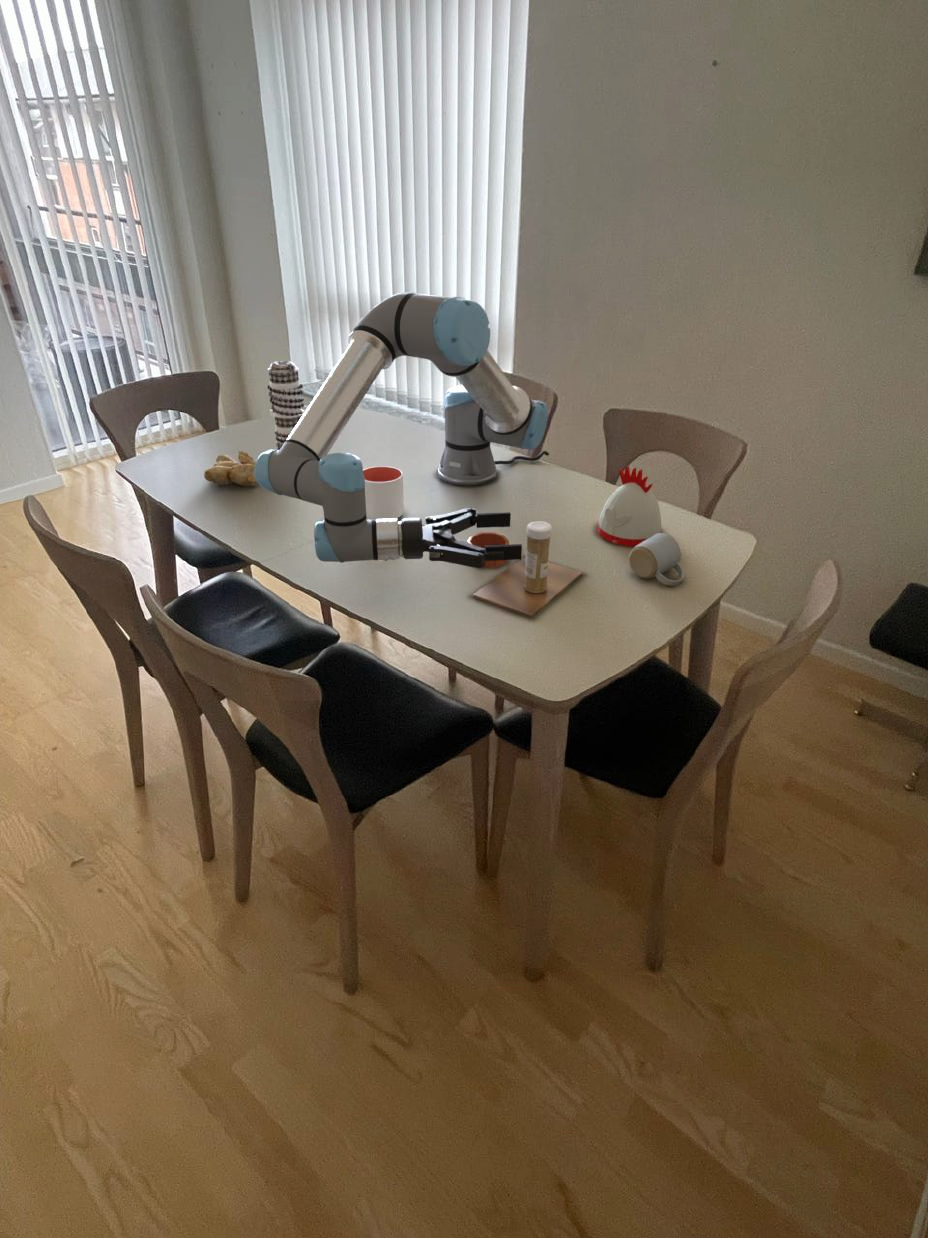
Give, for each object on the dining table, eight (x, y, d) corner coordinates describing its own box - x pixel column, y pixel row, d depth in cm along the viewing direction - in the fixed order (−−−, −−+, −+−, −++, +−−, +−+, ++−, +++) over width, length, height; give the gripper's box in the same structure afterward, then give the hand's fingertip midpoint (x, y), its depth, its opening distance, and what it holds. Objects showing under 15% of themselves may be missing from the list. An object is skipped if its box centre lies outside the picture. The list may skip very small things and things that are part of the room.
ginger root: (246, 493, 180) (235, 461, 177) (195, 499, 186) (184, 468, 183) (280, 473, 193) (271, 443, 189) (232, 479, 199) (221, 450, 195)
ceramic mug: (623, 572, 151) (628, 538, 147) (648, 559, 155) (654, 526, 151) (666, 593, 144) (673, 558, 140) (691, 579, 149) (698, 545, 145)
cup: (397, 525, 169) (395, 484, 163) (355, 521, 170) (352, 480, 165) (409, 507, 177) (407, 468, 172) (369, 504, 179) (366, 464, 173)
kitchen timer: (621, 514, 175) (629, 452, 167) (672, 532, 167) (683, 469, 159) (585, 531, 167) (591, 468, 159) (636, 552, 158) (646, 486, 150)
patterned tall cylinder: (306, 460, 203) (296, 367, 190) (273, 460, 203) (260, 366, 190) (313, 449, 211) (303, 358, 197) (280, 448, 211) (269, 358, 197)
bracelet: (481, 545, 161) (481, 528, 159) (515, 556, 157) (516, 539, 154) (459, 560, 155) (459, 543, 153) (494, 571, 151) (494, 554, 149)
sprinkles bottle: (550, 592, 143) (555, 529, 135) (527, 595, 142) (531, 531, 134) (542, 581, 146) (547, 519, 139) (520, 583, 145) (524, 521, 138)
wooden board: (526, 557, 156) (526, 555, 156) (581, 575, 150) (582, 572, 150) (473, 597, 142) (473, 594, 142) (531, 618, 136) (531, 615, 136)
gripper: (400, 528, 148) (505, 524, 150) (403, 590, 127) (525, 585, 129) (398, 493, 144) (506, 489, 146) (401, 551, 123) (527, 547, 125)
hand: (515, 534), depth 137 cm, fingers open, 13 cm apart
